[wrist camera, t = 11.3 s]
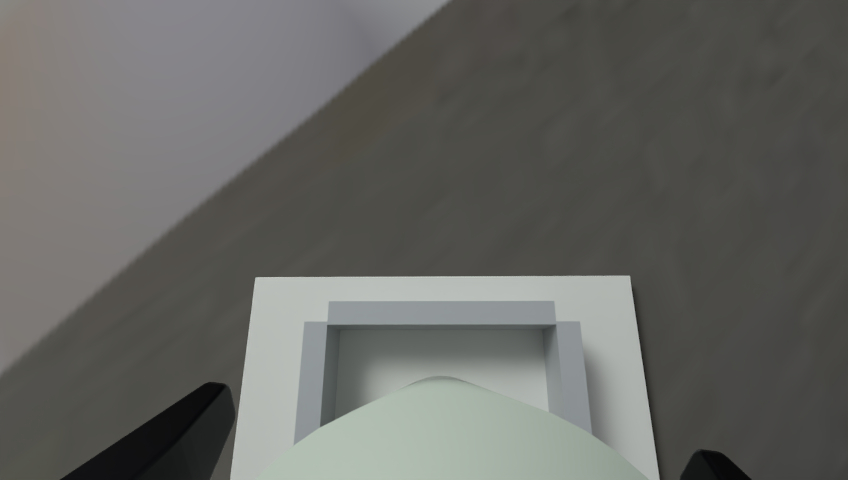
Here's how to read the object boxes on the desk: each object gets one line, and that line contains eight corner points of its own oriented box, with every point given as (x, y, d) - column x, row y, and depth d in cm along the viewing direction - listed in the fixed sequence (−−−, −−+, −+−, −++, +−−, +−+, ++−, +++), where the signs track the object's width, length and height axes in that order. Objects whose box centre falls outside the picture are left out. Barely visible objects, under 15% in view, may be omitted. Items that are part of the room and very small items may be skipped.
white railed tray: (675, 643, 13) (728, 705, 11) (218, 633, 14) (171, 689, 11) (623, 279, 17) (654, 263, 15) (261, 280, 18) (232, 265, 15)
